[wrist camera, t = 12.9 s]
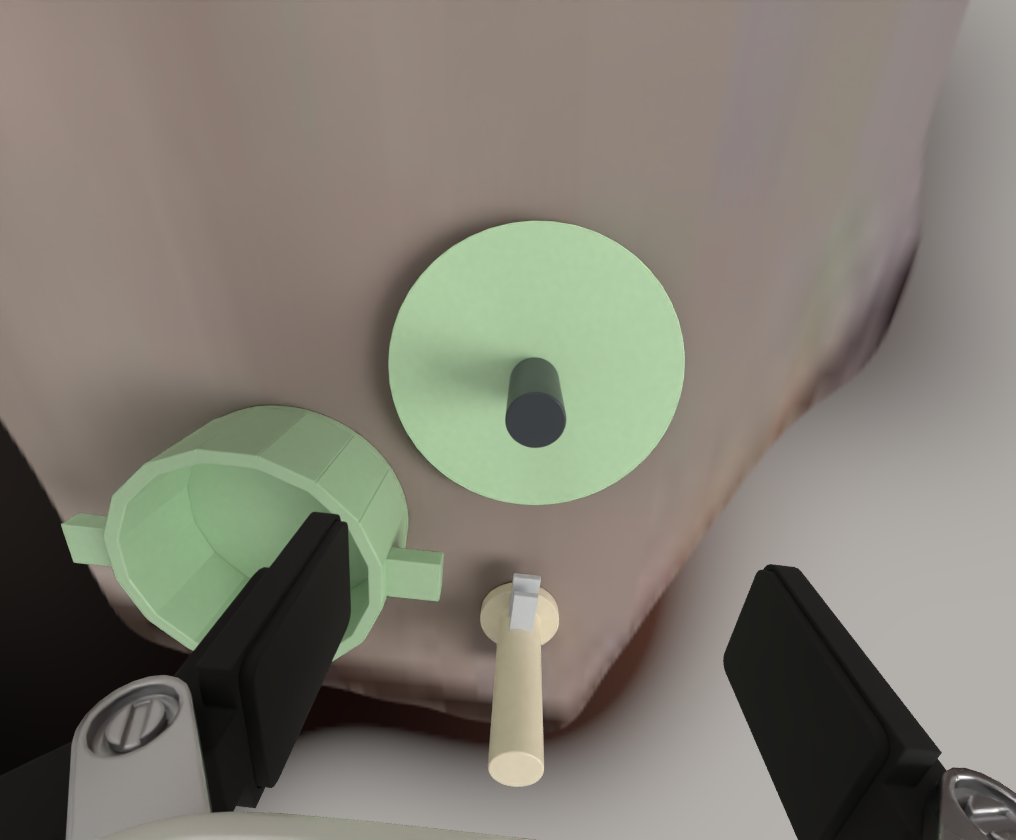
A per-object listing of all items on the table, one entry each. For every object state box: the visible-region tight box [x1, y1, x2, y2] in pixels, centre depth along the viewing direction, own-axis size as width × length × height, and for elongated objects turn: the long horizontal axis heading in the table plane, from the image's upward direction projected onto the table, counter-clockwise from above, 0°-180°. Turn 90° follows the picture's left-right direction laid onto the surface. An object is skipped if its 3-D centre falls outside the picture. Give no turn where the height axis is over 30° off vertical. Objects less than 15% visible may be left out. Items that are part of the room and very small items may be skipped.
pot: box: [61, 405, 444, 661], centre depth 25 cm, size 13×19×6 cm
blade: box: [480, 573, 559, 787], centre depth 26 cm, size 8×5×10 cm, turn 174°
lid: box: [388, 221, 685, 505], centre depth 21 cm, size 14×14×6 cm
